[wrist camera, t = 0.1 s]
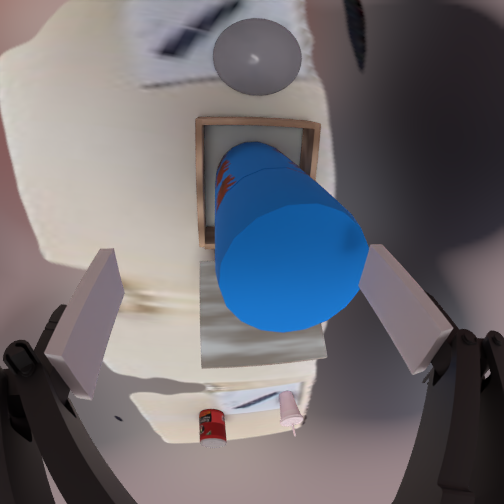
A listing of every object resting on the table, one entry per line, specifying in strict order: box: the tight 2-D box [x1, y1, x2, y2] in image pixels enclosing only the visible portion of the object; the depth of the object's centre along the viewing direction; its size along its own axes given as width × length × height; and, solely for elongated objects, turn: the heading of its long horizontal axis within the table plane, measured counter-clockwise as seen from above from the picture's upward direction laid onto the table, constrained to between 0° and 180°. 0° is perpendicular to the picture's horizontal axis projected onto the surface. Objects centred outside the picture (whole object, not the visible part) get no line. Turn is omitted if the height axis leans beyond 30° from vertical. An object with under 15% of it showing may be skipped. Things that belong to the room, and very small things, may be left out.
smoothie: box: [279, 391, 303, 436], centre depth 66 cm, size 6×6×14 cm
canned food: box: [199, 409, 227, 448], centre depth 69 cm, size 8×8×11 cm
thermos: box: [215, 142, 369, 333], centre depth 29 cm, size 11×11×25 cm
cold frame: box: [195, 117, 327, 368], centre depth 33 cm, size 26×16×20 cm, turn 178°
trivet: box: [213, 18, 302, 95], centre depth 30 cm, size 12×12×1 cm
